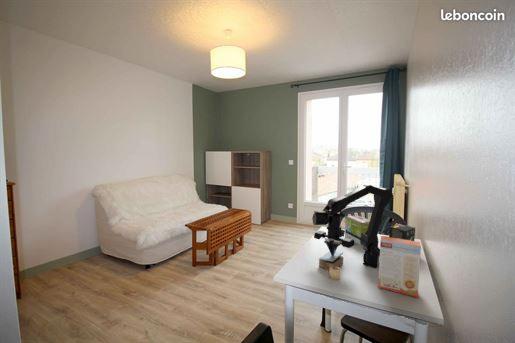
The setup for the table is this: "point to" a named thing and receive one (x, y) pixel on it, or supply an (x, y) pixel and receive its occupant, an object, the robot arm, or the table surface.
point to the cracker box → (399, 265)
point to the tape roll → (334, 272)
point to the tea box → (355, 227)
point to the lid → (331, 258)
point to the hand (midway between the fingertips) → (332, 255)
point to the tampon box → (402, 232)
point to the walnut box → (331, 263)
